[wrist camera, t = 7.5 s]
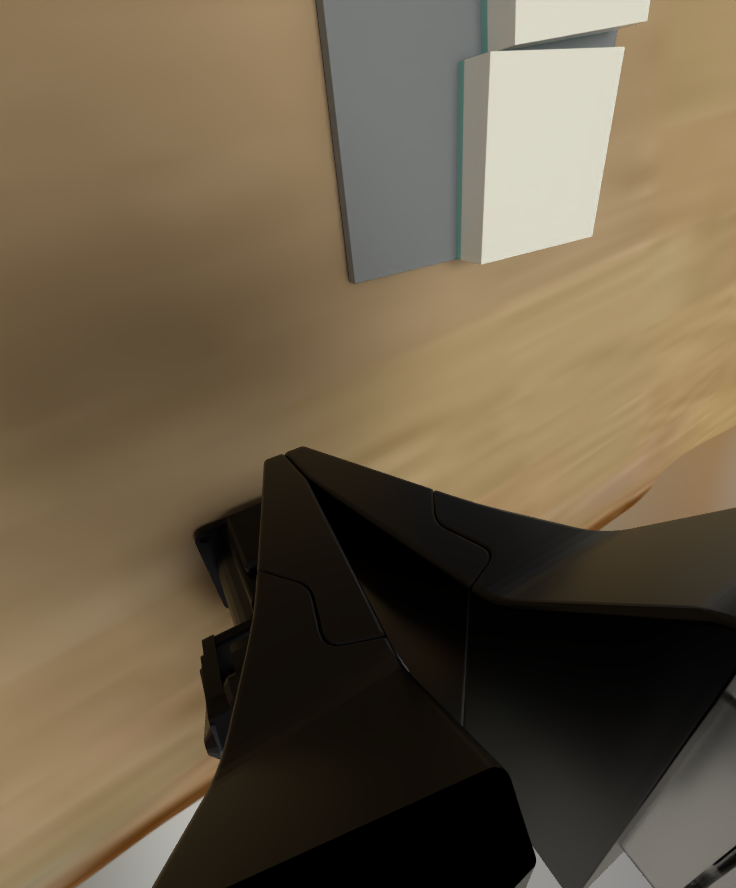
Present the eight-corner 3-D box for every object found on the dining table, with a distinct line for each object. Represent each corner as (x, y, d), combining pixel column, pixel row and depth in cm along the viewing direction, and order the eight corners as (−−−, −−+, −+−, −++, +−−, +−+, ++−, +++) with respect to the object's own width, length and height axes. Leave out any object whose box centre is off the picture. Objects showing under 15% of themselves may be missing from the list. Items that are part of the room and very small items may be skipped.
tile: (455, 259, 23) (563, 233, 26) (481, 264, 22) (592, 236, 24) (458, 61, 19) (587, 56, 21) (490, 51, 17) (624, 46, 20)
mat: (576, 227, 27) (585, 227, 27) (349, 281, 21) (355, 283, 21) (641, -196, 18) (655, -206, 18) (280, -292, 12) (288, -309, 12)
